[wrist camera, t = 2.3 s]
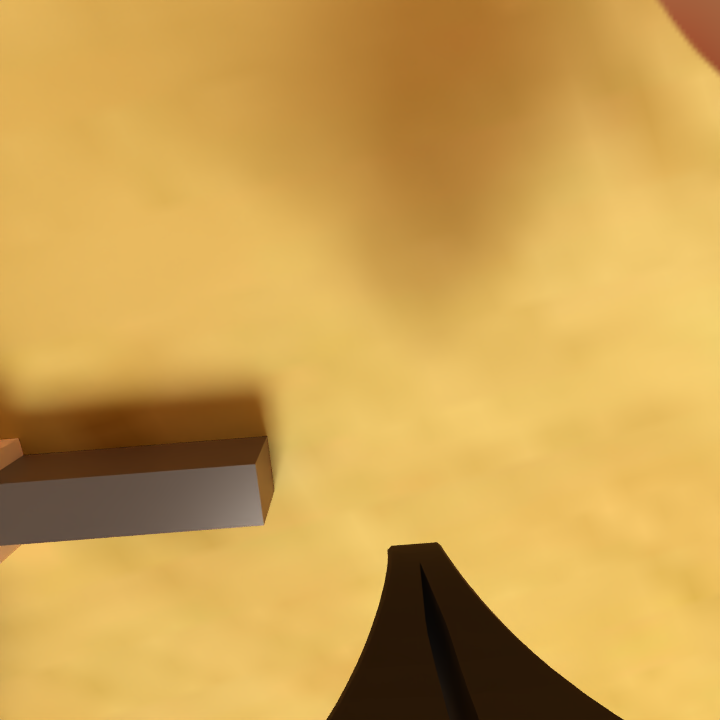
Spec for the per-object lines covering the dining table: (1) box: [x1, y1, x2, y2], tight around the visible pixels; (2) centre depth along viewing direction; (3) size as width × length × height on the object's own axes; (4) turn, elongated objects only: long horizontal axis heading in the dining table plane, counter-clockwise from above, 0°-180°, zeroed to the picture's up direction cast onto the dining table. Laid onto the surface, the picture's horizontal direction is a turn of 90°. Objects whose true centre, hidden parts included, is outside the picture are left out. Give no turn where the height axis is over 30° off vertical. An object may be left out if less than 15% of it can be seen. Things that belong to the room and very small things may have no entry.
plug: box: [0, 436, 274, 564], centre depth 17 cm, size 4×14×4 cm, turn 94°
